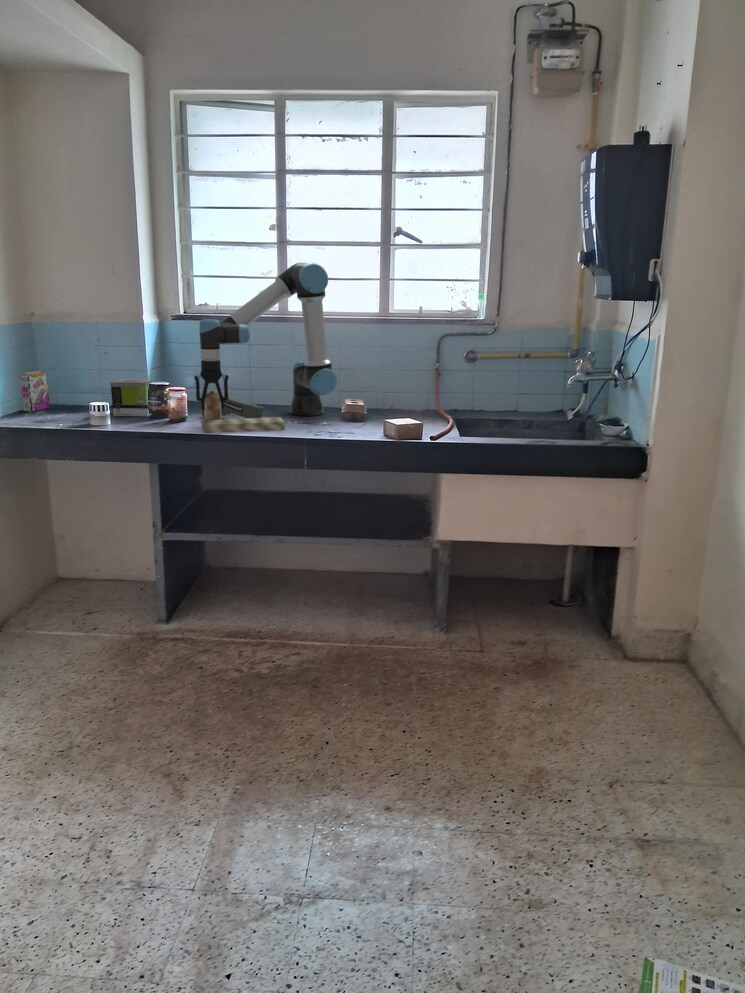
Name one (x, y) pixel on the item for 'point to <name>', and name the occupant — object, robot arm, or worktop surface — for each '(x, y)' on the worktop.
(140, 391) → the tea box
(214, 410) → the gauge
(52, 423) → the worktop surface
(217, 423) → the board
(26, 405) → the candy bar box
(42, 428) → the worktop surface
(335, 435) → the worktop surface
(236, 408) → the gun
